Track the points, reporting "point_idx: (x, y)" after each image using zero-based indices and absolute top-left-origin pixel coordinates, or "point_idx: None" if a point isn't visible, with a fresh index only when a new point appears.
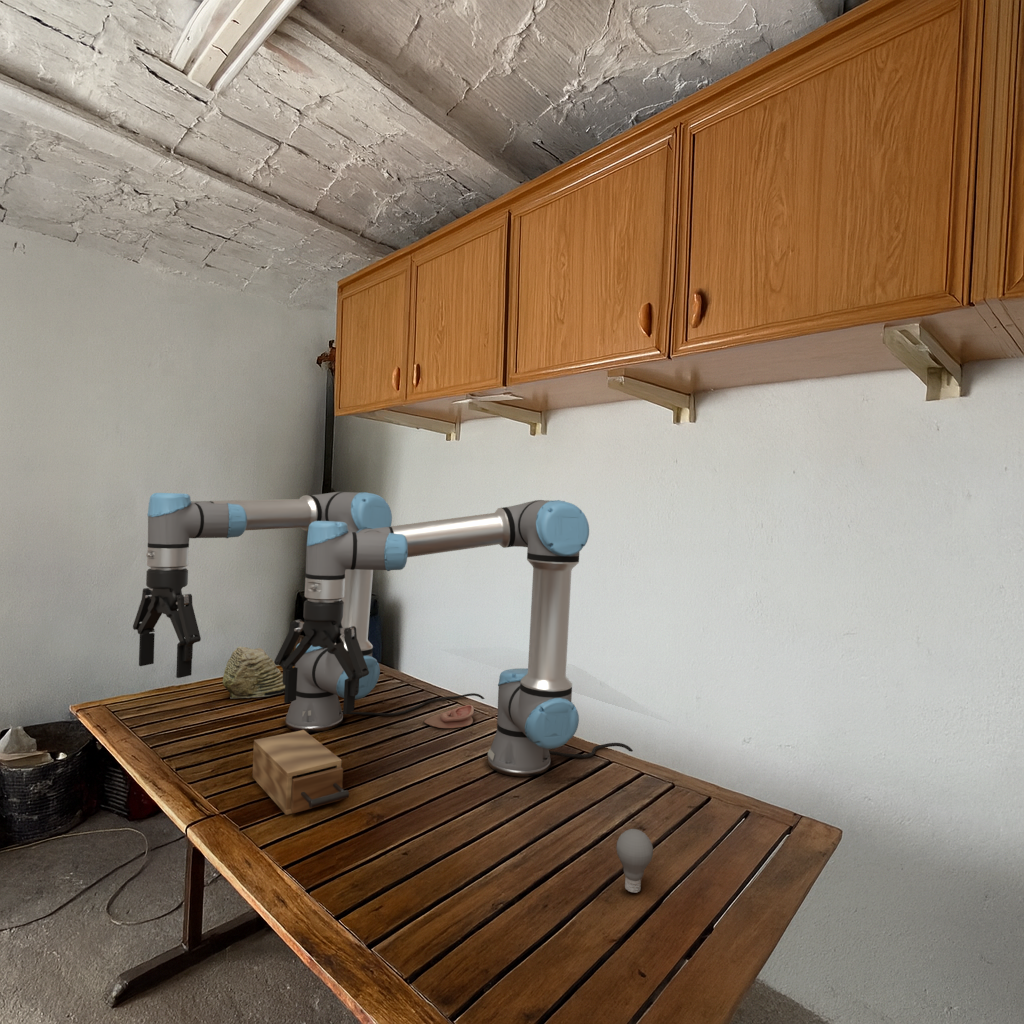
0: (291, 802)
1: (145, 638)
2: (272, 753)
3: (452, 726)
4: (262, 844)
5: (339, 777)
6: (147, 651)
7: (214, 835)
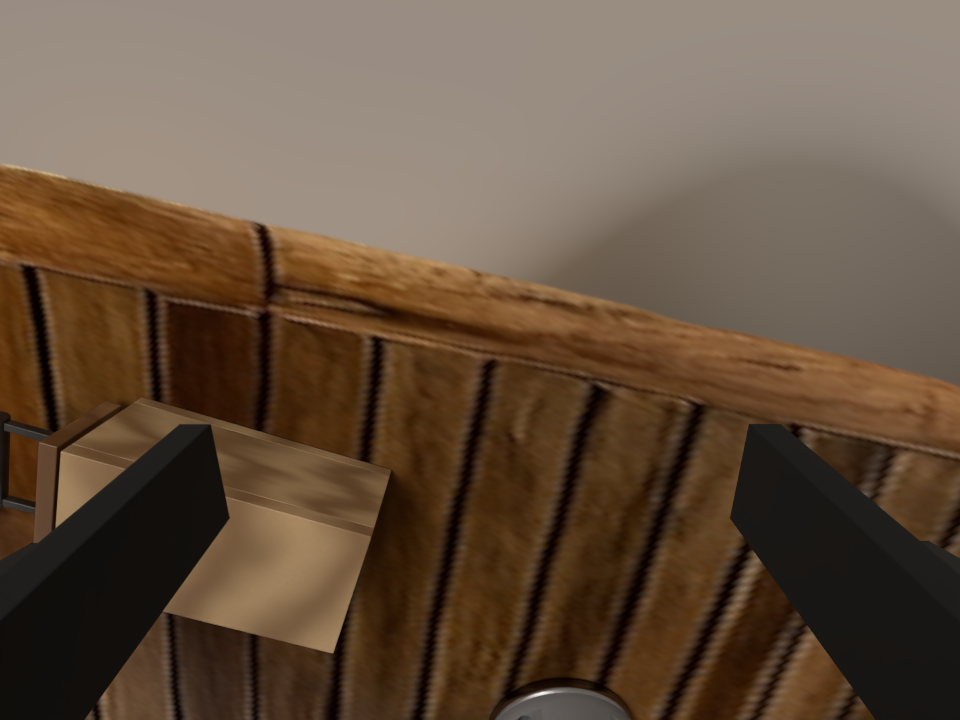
0: (102, 415)
1: (938, 664)
2: (229, 508)
3: None
4: (42, 279)
5: None
6: (808, 551)
7: (164, 236)
